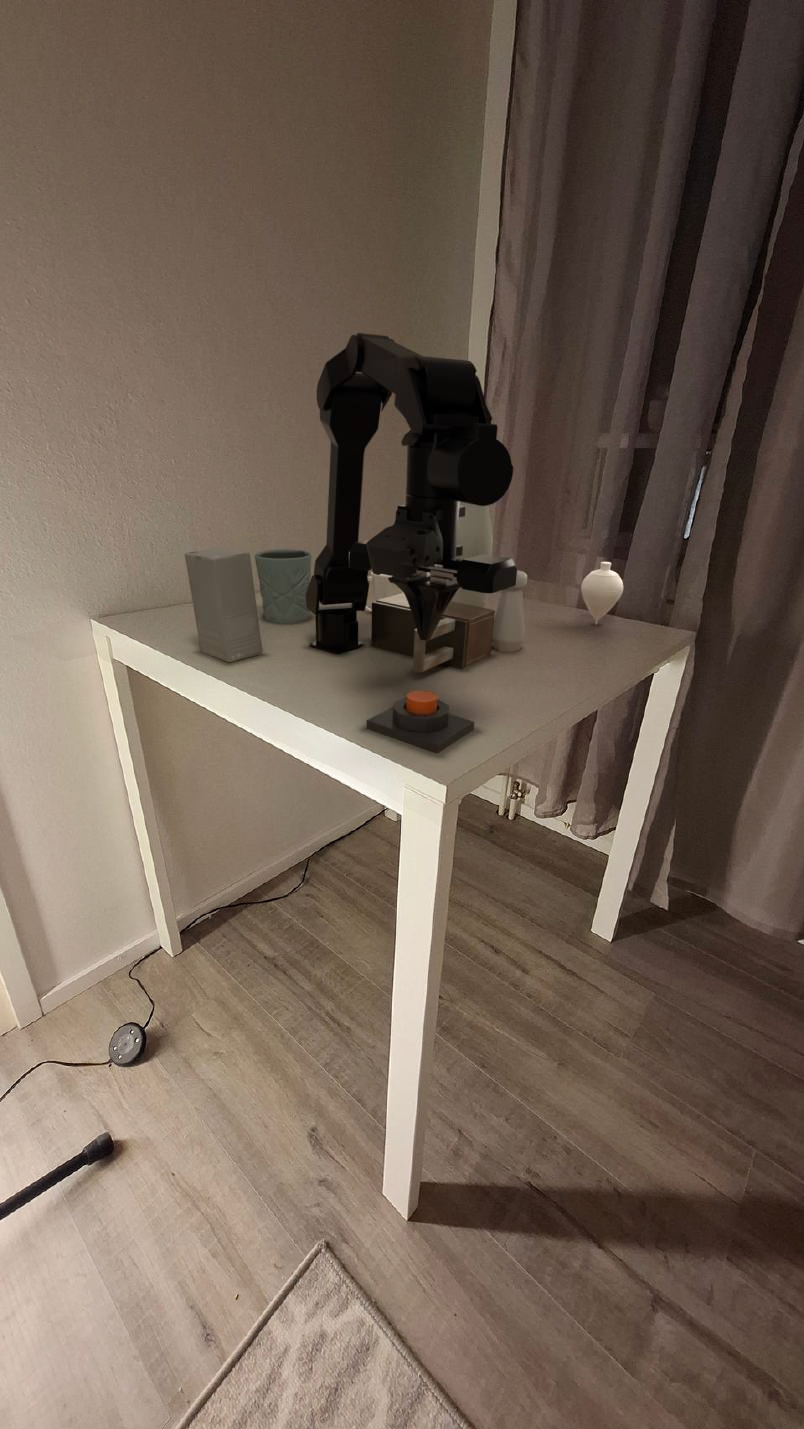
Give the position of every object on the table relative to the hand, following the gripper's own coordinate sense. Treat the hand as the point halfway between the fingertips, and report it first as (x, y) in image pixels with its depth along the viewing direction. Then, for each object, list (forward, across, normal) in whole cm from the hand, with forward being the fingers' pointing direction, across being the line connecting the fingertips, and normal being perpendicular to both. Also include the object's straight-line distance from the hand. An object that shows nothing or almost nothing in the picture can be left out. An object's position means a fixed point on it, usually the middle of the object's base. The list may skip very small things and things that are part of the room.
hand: (425, 639), depth 70 cm
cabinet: (+11, -15, +25) cm, 31 cm away
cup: (+11, -36, +38) cm, 53 cm away
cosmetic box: (+11, -38, +2) cm, 40 cm away
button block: (+11, +1, -2) cm, 11 cm away
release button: (+8, +1, -2) cm, 8 cm away
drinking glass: (+11, -47, +23) cm, 53 cm away
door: (+11, -15, +16) cm, 24 cm away
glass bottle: (+11, -22, +45) cm, 51 cm away
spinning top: (+11, 0, +60) cm, 61 cm away
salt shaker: (+11, -6, +34) cm, 36 cm away
